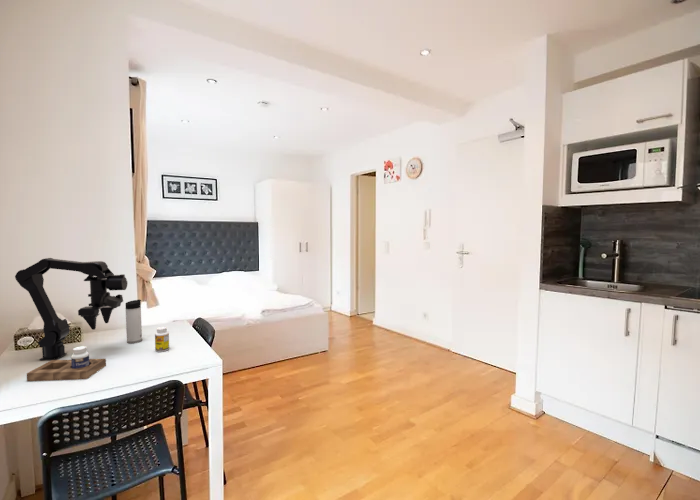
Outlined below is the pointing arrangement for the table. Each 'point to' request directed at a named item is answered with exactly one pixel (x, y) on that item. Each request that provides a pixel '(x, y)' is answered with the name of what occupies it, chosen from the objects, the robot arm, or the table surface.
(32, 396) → the table surface
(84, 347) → the pill bottle
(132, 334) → the travel mug
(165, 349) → the supplement bottle
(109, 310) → the robot arm
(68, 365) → the socket block
